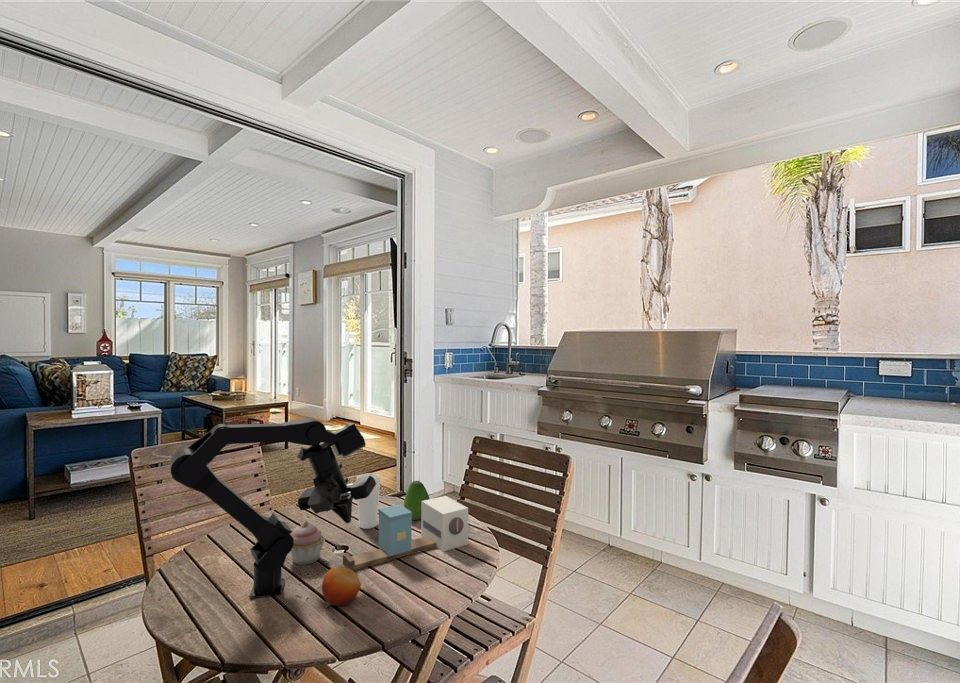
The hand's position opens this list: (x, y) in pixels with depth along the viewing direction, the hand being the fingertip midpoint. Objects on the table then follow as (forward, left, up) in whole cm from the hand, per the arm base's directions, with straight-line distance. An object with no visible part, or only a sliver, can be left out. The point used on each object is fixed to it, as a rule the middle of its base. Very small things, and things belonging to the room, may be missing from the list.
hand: (348, 522), depth 118 cm
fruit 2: (+27, -21, -11) cm, 35 cm away
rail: (+4, -11, -11) cm, 16 cm away
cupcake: (+7, +10, -11) cm, 17 cm away
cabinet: (+9, -26, -11) cm, 30 cm away
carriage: (+4, -12, -10) cm, 16 cm away
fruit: (-15, +1, -11) cm, 19 cm away
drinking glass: (+25, -6, -11) cm, 28 cm away
